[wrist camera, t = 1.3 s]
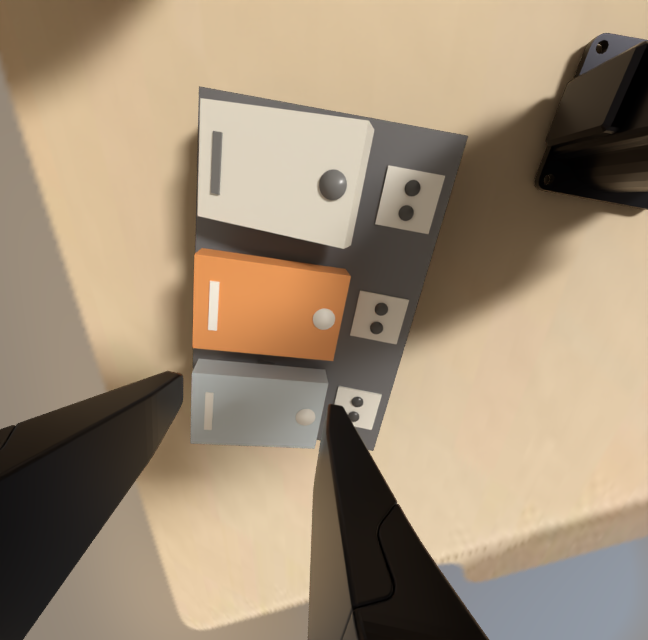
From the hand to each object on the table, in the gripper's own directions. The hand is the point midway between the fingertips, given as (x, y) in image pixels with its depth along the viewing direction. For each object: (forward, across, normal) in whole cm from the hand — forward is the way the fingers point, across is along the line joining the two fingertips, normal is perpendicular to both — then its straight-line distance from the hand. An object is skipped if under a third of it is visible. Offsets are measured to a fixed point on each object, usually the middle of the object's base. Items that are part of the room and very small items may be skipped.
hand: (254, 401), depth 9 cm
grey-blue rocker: (+8, +2, +6) cm, 10 cm away
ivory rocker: (+8, +2, -6) cm, 10 cm away
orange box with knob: (+8, +2, 0) cm, 8 cm away
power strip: (+12, 0, 0) cm, 12 cm away
